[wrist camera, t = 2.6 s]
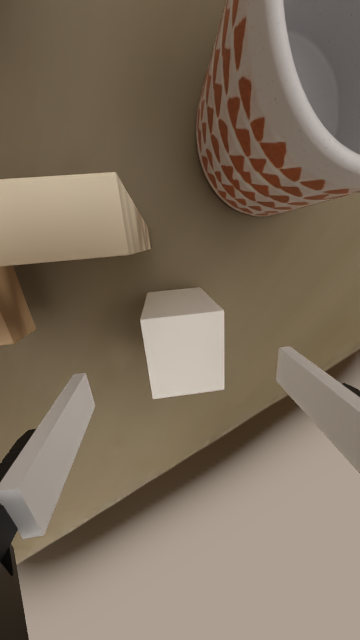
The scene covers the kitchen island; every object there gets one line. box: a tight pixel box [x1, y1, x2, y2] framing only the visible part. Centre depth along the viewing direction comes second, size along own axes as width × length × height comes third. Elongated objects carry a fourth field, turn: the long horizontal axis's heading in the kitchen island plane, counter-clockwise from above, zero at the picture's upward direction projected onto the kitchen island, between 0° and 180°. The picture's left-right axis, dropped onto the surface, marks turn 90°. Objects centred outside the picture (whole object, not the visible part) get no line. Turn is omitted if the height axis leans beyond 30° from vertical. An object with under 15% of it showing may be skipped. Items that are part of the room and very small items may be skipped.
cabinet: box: [140, 287, 224, 399], centre depth 20 cm, size 8×6×9 cm
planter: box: [196, 0, 360, 216], centre depth 12 cm, size 14×14×13 cm
